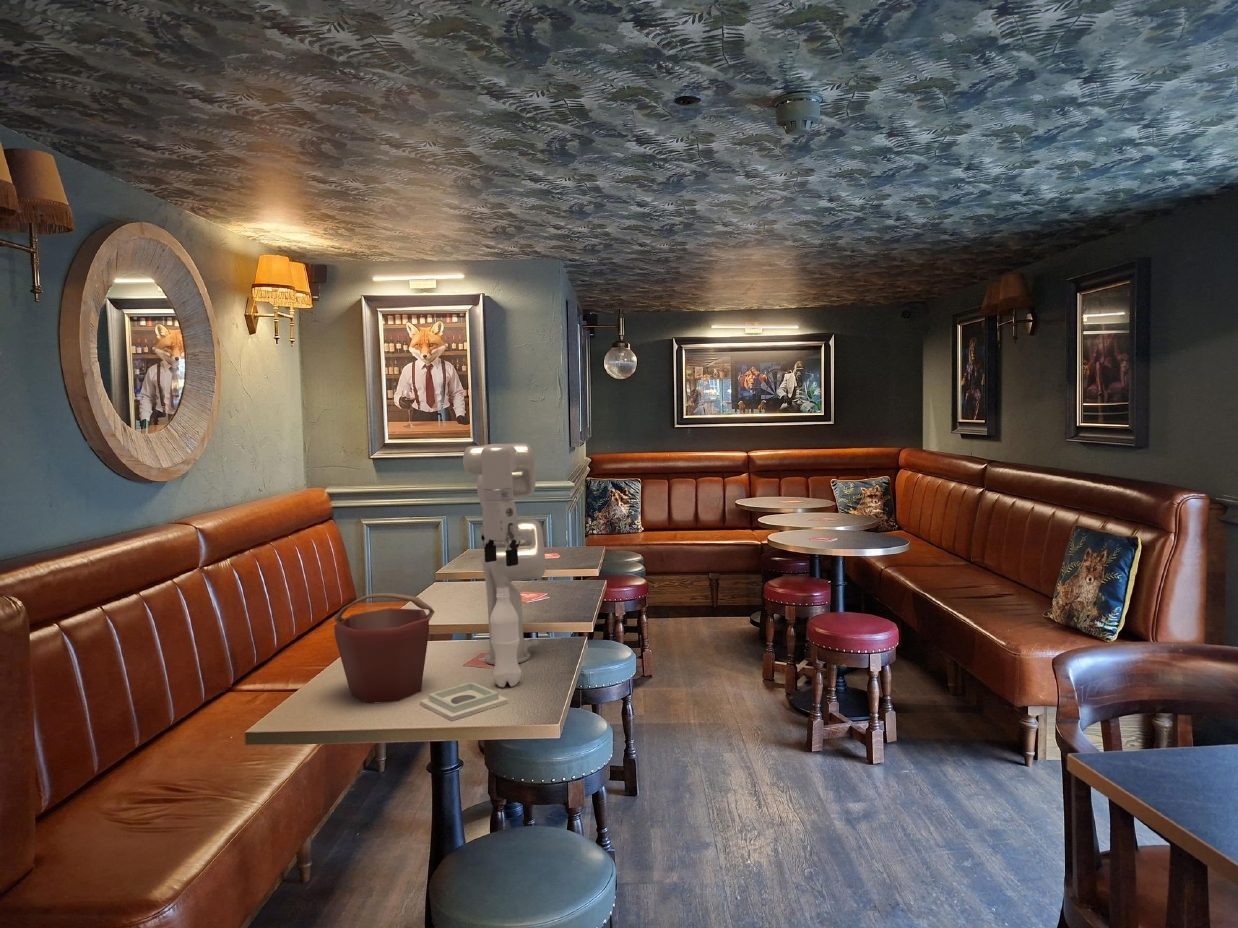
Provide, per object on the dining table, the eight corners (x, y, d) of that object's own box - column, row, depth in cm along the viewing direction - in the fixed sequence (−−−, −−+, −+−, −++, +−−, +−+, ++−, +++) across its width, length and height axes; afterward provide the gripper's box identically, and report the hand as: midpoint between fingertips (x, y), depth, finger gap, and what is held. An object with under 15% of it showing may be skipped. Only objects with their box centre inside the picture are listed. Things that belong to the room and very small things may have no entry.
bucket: (452, 680, 206) (447, 585, 204) (404, 712, 185) (398, 606, 183) (371, 675, 213) (366, 583, 212) (317, 704, 192) (310, 602, 191)
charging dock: (474, 688, 199) (474, 678, 199) (507, 702, 188) (507, 692, 188) (420, 704, 189) (419, 694, 189) (451, 720, 178) (451, 710, 178)
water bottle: (493, 690, 197) (488, 591, 196) (493, 680, 204) (488, 585, 203) (522, 687, 198) (517, 589, 197) (521, 678, 205) (516, 583, 204)
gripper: (530, 495, 194) (533, 564, 195) (492, 493, 207) (495, 557, 208) (504, 498, 189) (508, 569, 190) (467, 495, 202) (470, 562, 203)
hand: (501, 563), depth 199 cm, fingers open, 9 cm apart
